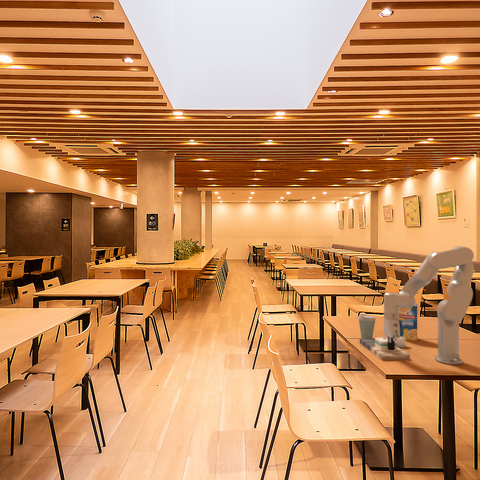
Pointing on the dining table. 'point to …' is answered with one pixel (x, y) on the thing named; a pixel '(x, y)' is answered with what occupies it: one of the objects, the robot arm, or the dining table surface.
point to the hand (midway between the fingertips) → (391, 349)
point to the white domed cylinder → (401, 342)
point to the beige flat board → (384, 354)
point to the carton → (383, 344)
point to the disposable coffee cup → (366, 326)
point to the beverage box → (408, 322)
